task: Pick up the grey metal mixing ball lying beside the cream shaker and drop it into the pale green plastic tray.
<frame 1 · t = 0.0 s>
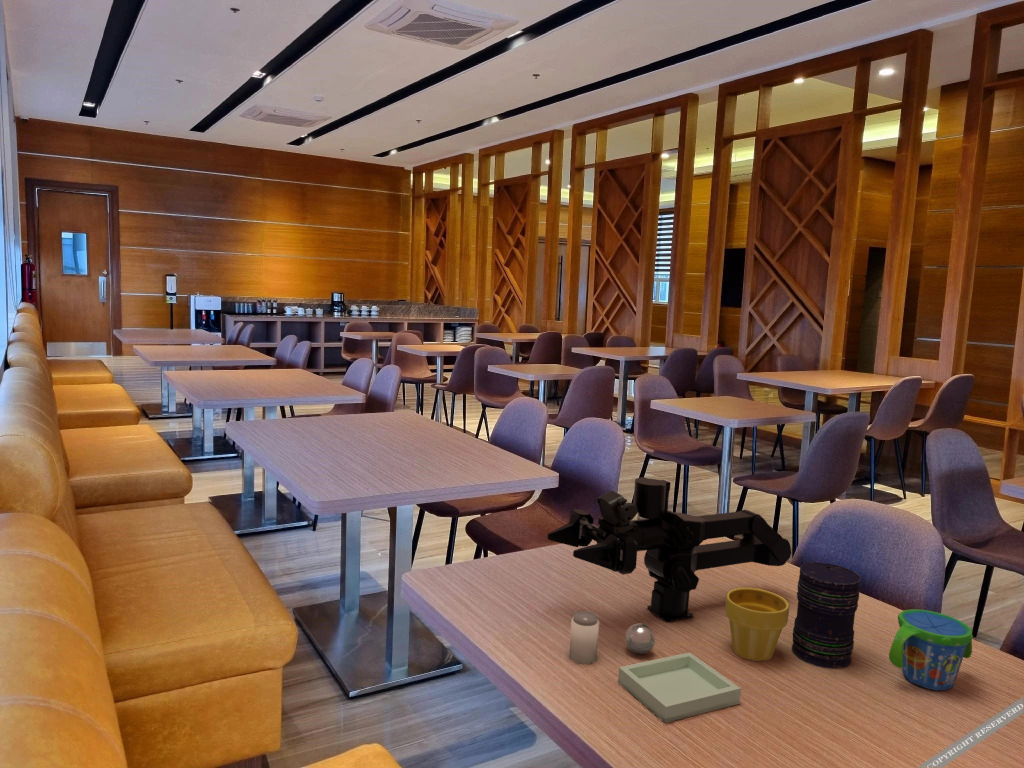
hand: (560, 544, 132), 17 cm above the table, tool horizontal, fingers open, 9 cm apart
ball: (639, 652, 129), on the table
shaker: (582, 657, 127), on the table
storage jar: (820, 656, 132), on the table
tray: (677, 692, 117), on the table
snack cup: (927, 681, 124), on the table
plant pot: (752, 653, 131), on the table
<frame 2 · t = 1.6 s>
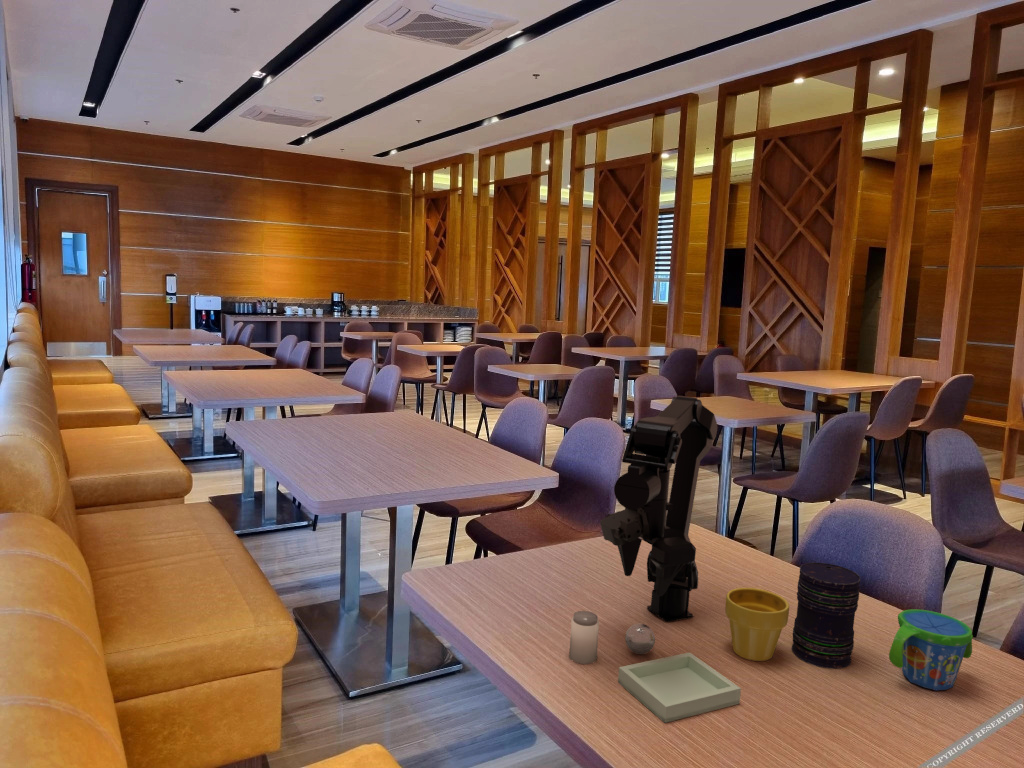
hand: (643, 585, 128), 12 cm above the table, tool pointing down, fingers open, 9 cm apart
nothing on the table moved.
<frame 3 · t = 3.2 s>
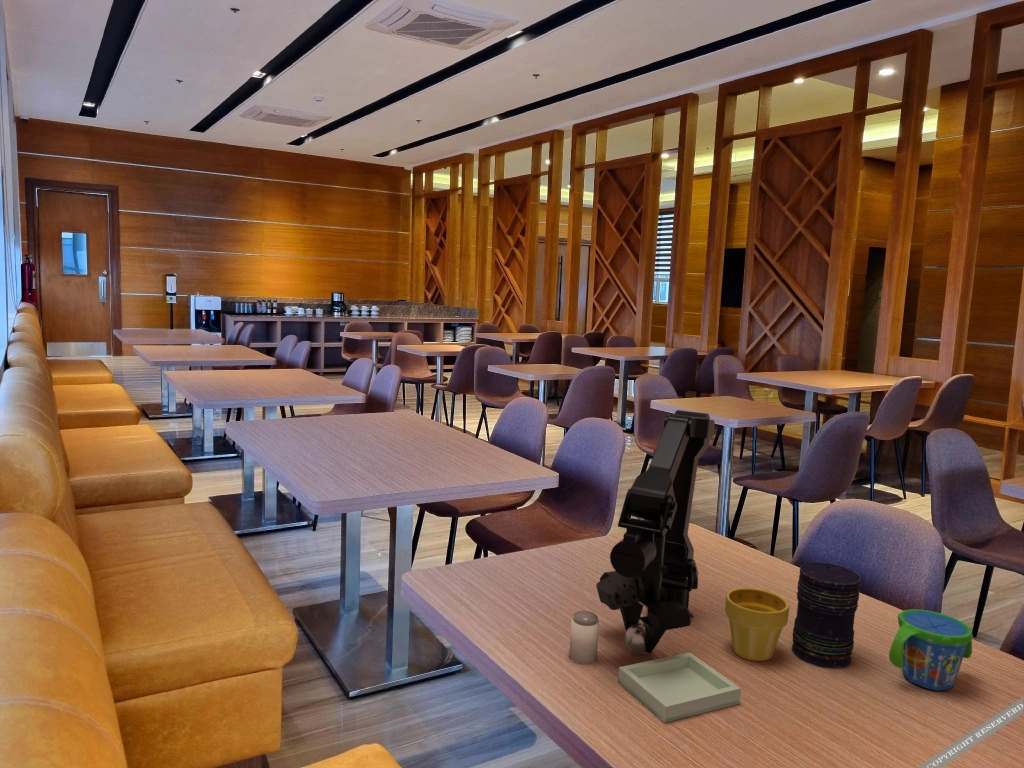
hand: (639, 645, 129), 1 cm above the table, tool pointing down, fingers closed on ball, 5 cm apart
ball: (639, 652, 129), on the table, touching gripper
everything else where it was.
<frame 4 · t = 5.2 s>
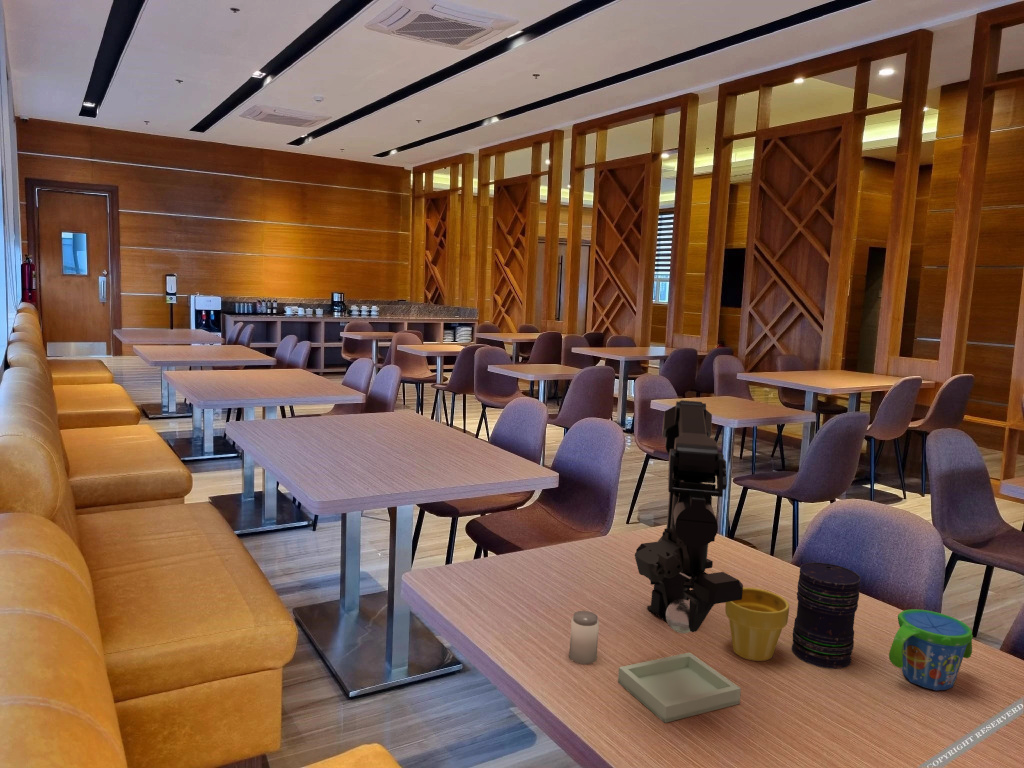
hand: (682, 624, 115), 11 cm above the table, tool pointing down, fingers closed on ball, 5 cm apart
ball: (681, 631, 115), point 10 cm above the table, touching gripper
everything else where it was.
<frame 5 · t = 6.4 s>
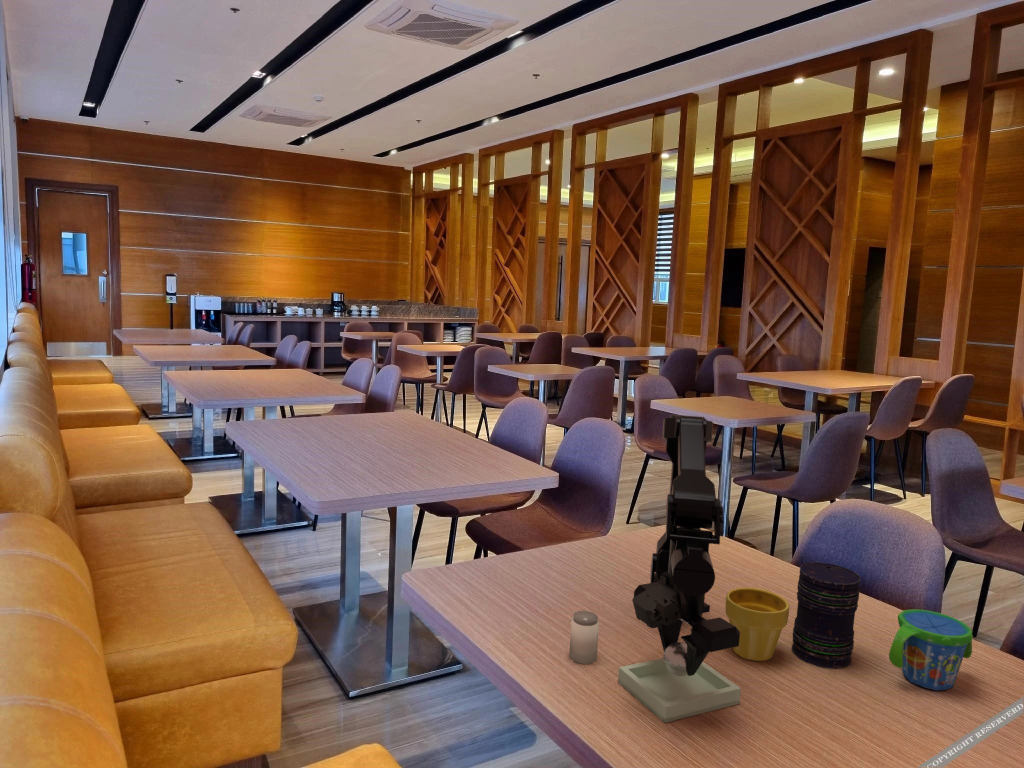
hand: (679, 666, 116), 4 cm above the table, tool pointing down, fingers closed on ball, 5 cm apart
ball: (678, 674, 116), point 3 cm above the table, touching gripper
everything else where it was.
when the fingers open (3 cm above the table, at t = 7.4 s): ball drops 2 cm, resting on tray.
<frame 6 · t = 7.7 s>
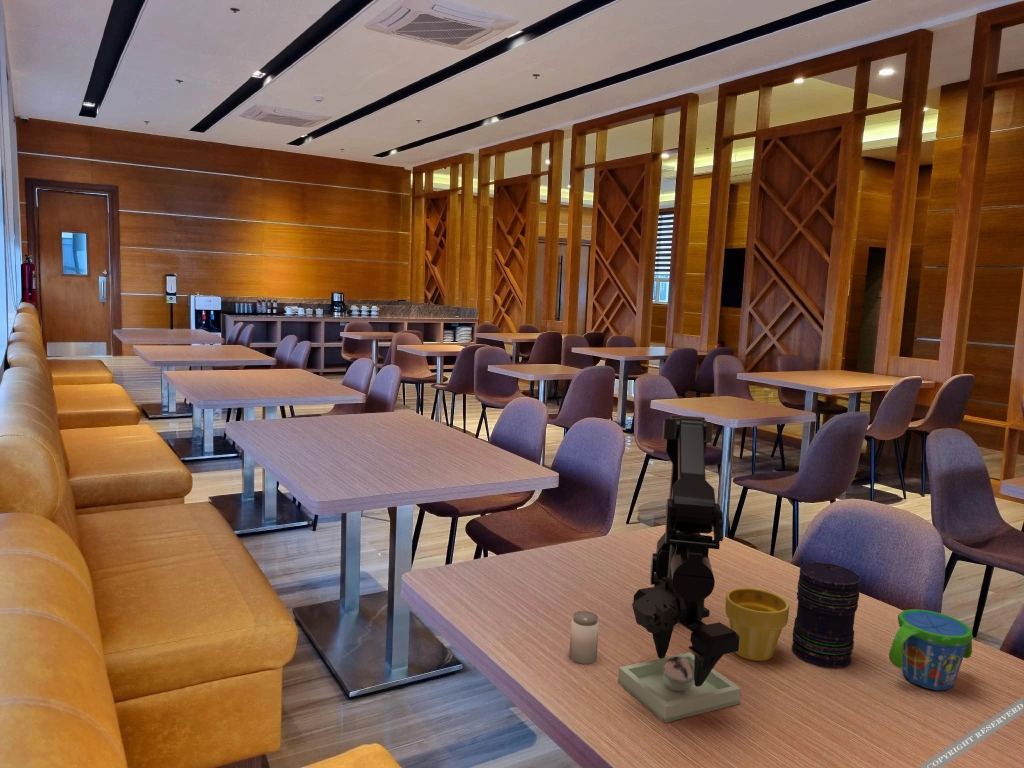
hand: (679, 671, 116), 3 cm above the table, tool pointing down, fingers open, 9 cm apart
ball: (677, 689, 117), point 1 cm above the table, touching tray
everything else where it was.
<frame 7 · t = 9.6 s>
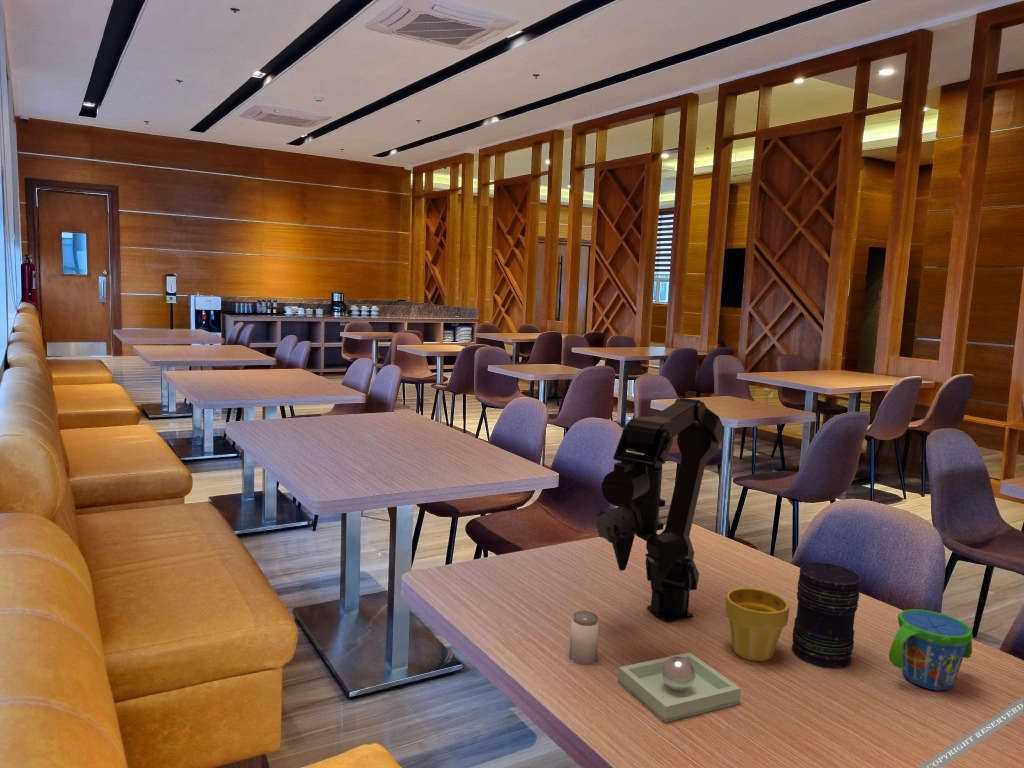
hand: (637, 579, 131), 12 cm above the table, tool pointing down, fingers open, 9 cm apart
nothing on the table moved.
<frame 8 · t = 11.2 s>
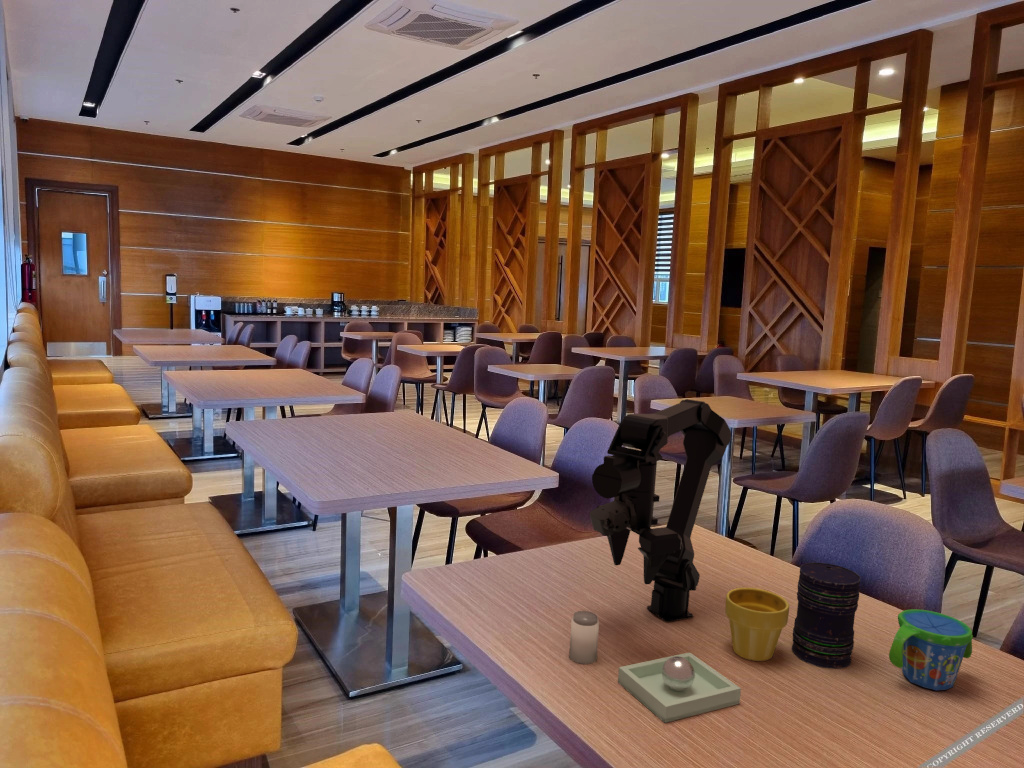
hand: (631, 574, 132), 12 cm above the table, tool pointing down, fingers open, 9 cm apart
nothing on the table moved.
at the end: ball inside the target area on the tray (0.1 cm from its centre), point 0.6 cm above the tray's base; the gripper is holding nothing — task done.
